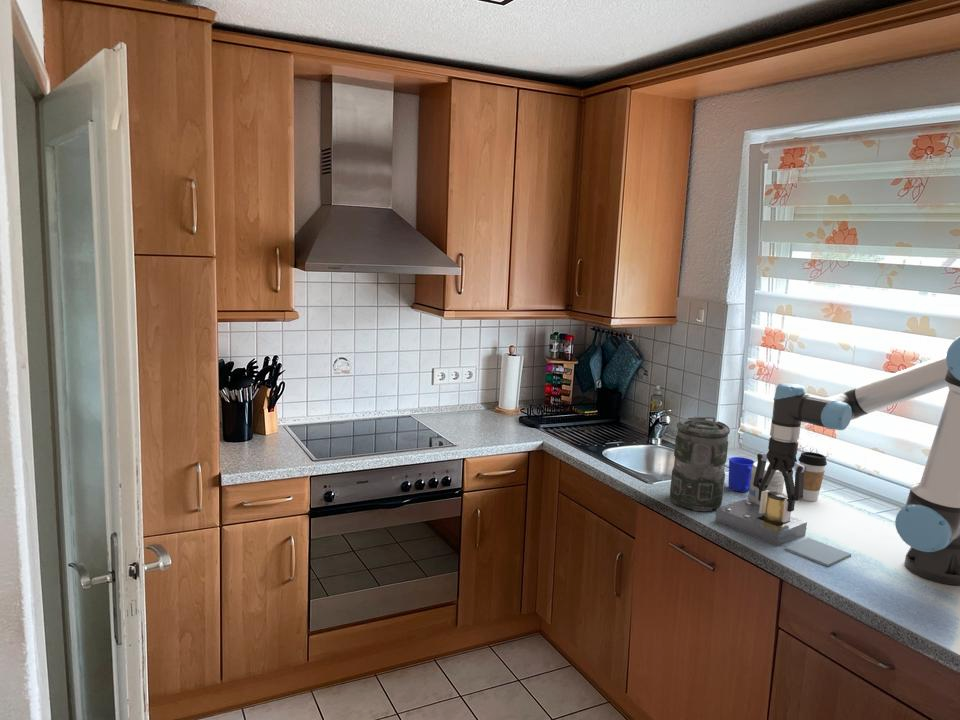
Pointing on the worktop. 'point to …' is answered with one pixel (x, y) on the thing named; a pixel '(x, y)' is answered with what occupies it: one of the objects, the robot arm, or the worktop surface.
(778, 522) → the cylinder
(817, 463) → the coffee cup
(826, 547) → the mat
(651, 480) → the worktop surface
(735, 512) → the housing
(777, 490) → the supplement tub
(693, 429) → the canister
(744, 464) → the mug
